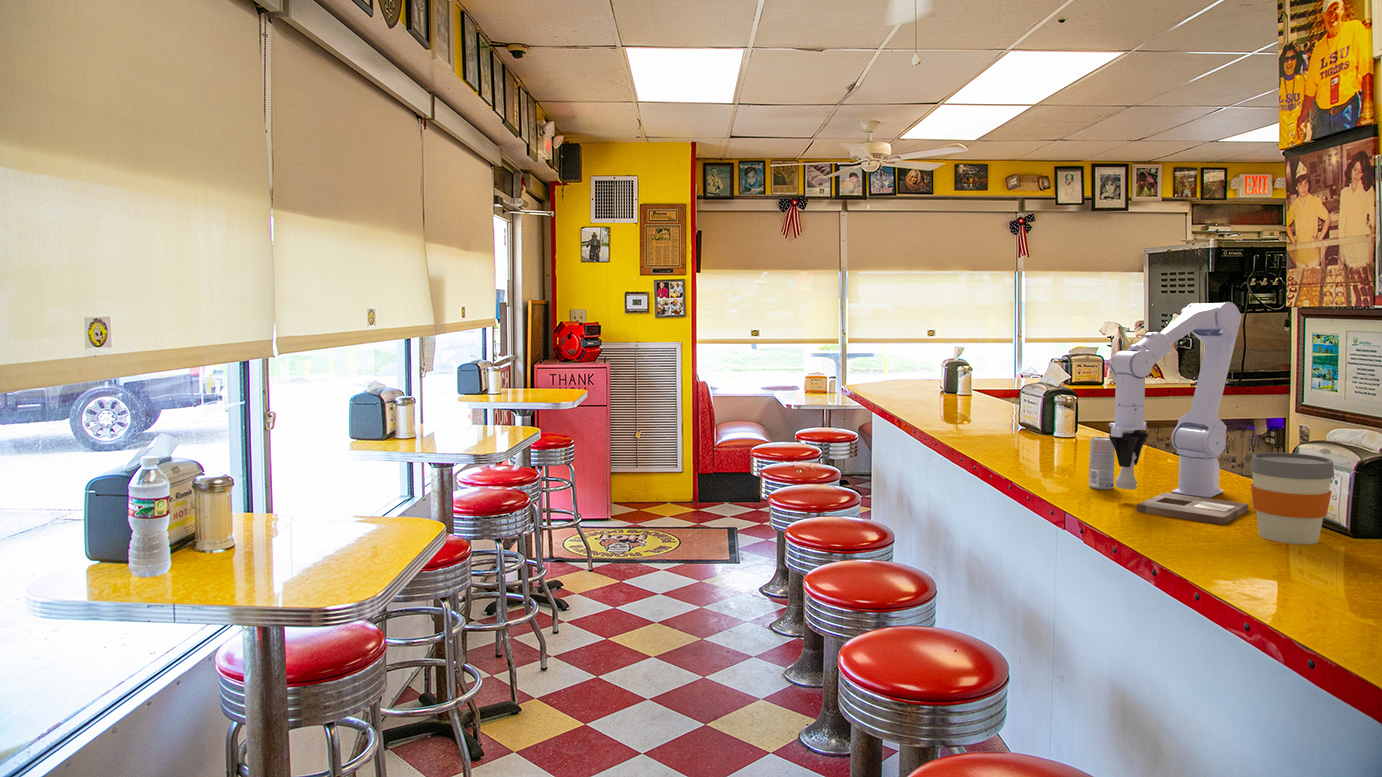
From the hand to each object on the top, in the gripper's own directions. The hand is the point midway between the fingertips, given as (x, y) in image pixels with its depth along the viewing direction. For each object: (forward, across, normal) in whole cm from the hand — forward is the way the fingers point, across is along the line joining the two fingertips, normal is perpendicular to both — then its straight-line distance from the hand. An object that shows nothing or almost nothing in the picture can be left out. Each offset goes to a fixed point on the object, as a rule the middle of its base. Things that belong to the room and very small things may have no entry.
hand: (1128, 465), depth 180 cm
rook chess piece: (+5, 0, 0) cm, 5 cm away
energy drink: (+8, -11, -10) cm, 17 cm away
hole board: (+8, 0, +13) cm, 15 cm away
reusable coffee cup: (+8, +10, +32) cm, 35 cm away
